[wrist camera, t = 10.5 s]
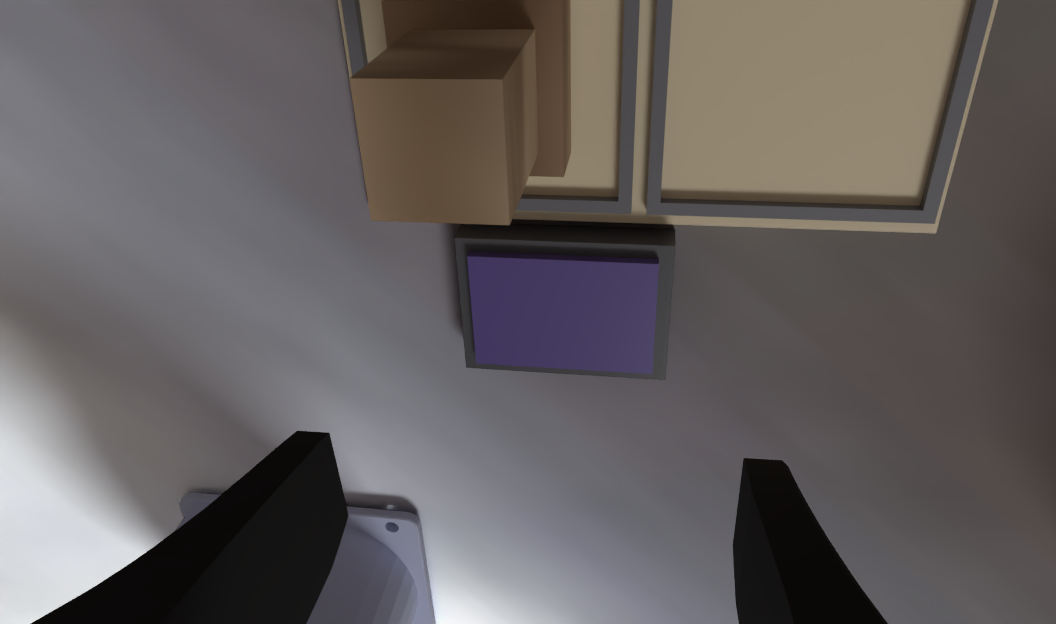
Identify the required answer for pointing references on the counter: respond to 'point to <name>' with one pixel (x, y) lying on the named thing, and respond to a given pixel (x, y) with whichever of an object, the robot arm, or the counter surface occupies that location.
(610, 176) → the beige divided tray
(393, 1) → the stamp
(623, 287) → the ink pad
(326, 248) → the counter surface
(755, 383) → the counter surface
